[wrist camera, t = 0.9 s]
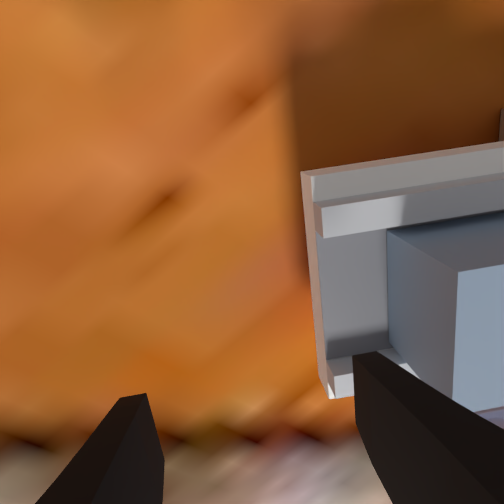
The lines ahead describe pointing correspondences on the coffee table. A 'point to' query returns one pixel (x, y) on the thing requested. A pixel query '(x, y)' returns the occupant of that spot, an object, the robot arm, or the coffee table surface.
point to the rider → (450, 306)
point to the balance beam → (381, 239)
